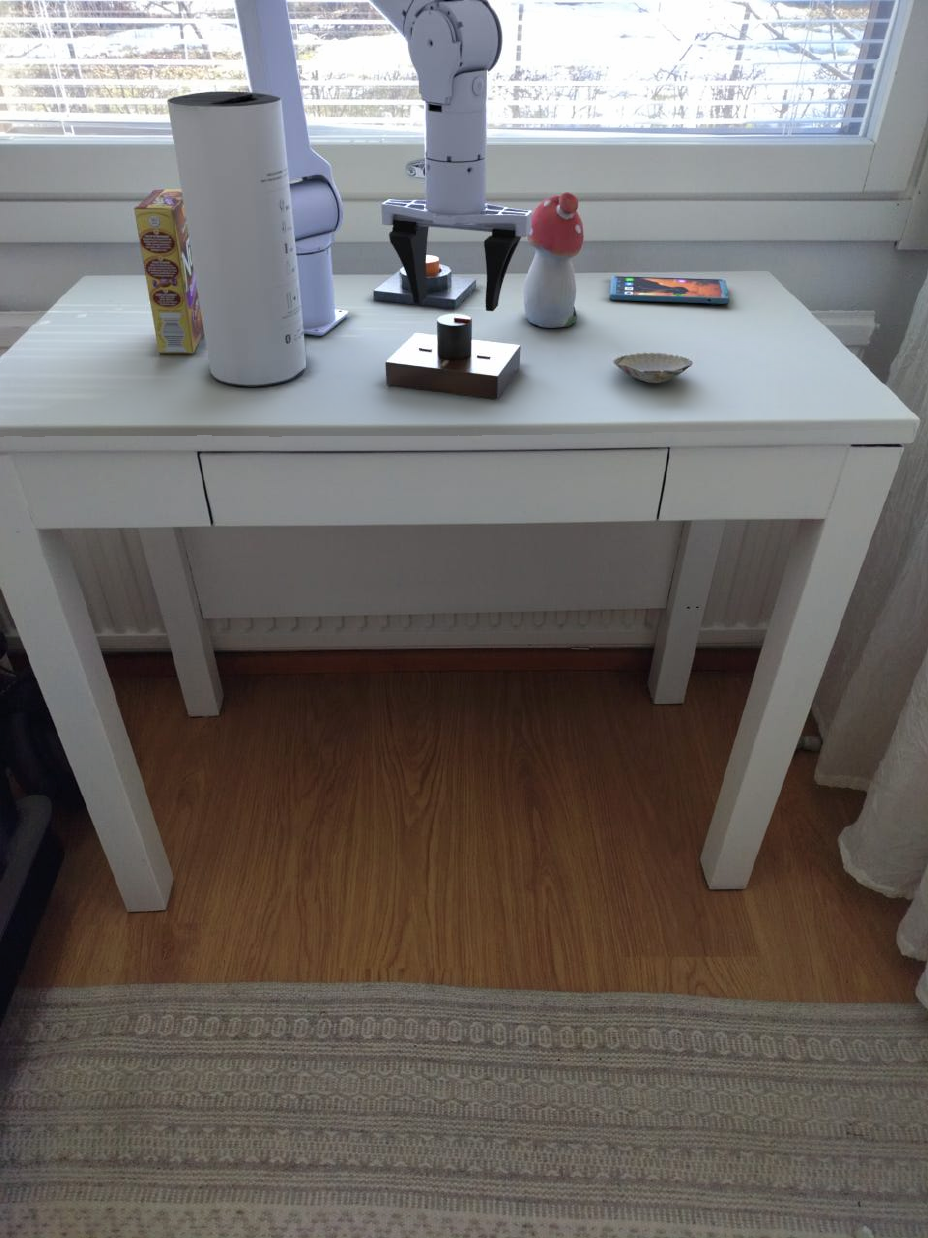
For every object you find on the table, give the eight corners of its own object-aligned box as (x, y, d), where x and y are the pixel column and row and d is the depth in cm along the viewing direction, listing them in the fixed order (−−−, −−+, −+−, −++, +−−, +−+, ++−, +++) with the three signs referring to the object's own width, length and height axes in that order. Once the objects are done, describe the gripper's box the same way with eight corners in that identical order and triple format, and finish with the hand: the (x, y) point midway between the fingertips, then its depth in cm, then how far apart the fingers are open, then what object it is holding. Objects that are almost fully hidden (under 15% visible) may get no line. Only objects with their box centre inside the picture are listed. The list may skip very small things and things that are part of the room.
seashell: (676, 381, 101) (607, 361, 101) (687, 354, 100) (617, 334, 99) (688, 399, 94) (614, 378, 93) (699, 370, 93) (624, 348, 92)
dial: (432, 356, 95) (431, 320, 93) (443, 344, 98) (443, 309, 96) (465, 360, 94) (465, 324, 92) (475, 348, 97) (476, 312, 95)
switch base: (373, 299, 117) (372, 275, 116) (398, 279, 124) (397, 256, 123) (455, 308, 115) (455, 284, 113) (476, 287, 122) (476, 264, 120)
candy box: (197, 354, 102) (172, 207, 93) (158, 355, 102) (128, 208, 93) (212, 326, 109) (189, 187, 100) (175, 327, 109) (149, 187, 100)
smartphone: (611, 275, 124) (725, 278, 122) (610, 285, 125) (724, 289, 123) (609, 291, 117) (730, 295, 115) (608, 302, 118) (728, 306, 116)
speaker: (256, 344, 105) (221, 81, 89) (329, 362, 100) (306, 89, 85) (189, 375, 97) (138, 94, 82) (265, 396, 93) (227, 103, 77)
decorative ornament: (578, 334, 108) (589, 196, 99) (522, 332, 108) (529, 195, 99) (574, 307, 115) (584, 178, 106) (522, 306, 116) (528, 177, 107)
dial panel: (386, 384, 96) (385, 360, 94) (415, 354, 103) (415, 330, 101) (497, 399, 93) (497, 374, 91) (519, 367, 100) (520, 343, 98)
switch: (407, 275, 117) (407, 261, 116) (417, 267, 120) (416, 253, 119) (434, 278, 116) (434, 263, 115) (443, 270, 119) (443, 256, 118)
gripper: (366, 159, 84) (374, 308, 92) (520, 170, 80) (514, 324, 88) (394, 145, 89) (399, 287, 97) (539, 155, 86) (532, 301, 94)
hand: (455, 304), depth 93 cm, fingers open, 7 cm apart
